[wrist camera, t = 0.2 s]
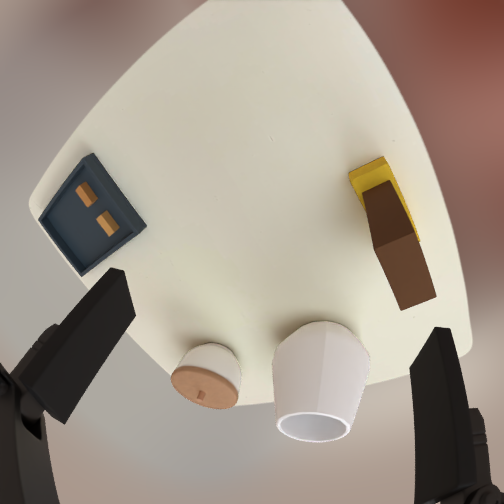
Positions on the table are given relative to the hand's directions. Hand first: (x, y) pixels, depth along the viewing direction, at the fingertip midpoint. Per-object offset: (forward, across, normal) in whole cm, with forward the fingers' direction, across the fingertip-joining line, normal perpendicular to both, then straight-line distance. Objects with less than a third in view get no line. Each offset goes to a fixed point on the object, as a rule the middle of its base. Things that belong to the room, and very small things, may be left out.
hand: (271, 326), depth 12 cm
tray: (+21, -30, -10) cm, 38 cm away
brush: (+21, +8, -2) cm, 23 cm away
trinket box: (+22, -10, -33) cm, 40 cm away
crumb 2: (+21, -25, -10) cm, 34 cm away
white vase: (+21, +6, -25) cm, 33 cm away
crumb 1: (+21, -28, -6) cm, 35 cm away
